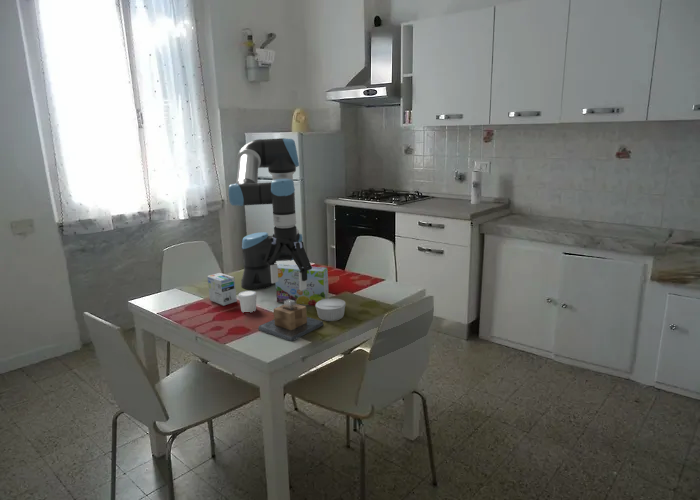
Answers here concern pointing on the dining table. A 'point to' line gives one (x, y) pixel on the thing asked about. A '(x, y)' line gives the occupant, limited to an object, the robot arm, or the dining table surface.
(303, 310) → the walnut collar
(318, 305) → the ramekin
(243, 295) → the white tapered pot
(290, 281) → the snack box
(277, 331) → the shaft plate
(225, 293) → the light bulb box
